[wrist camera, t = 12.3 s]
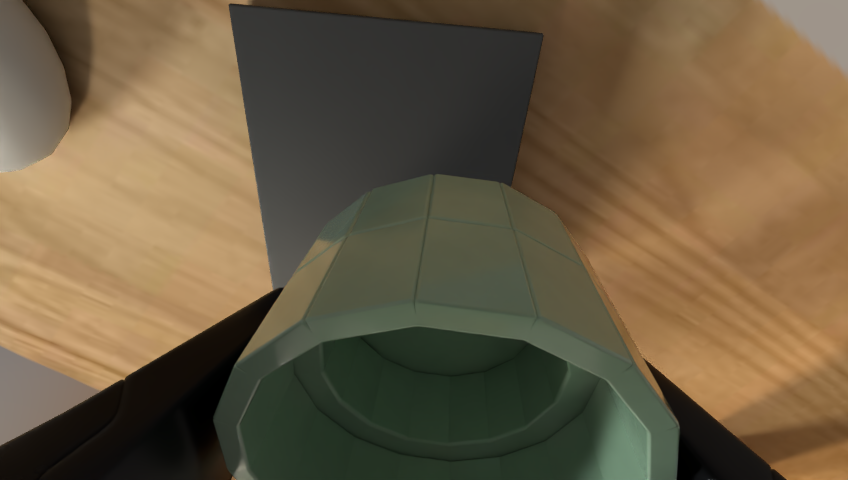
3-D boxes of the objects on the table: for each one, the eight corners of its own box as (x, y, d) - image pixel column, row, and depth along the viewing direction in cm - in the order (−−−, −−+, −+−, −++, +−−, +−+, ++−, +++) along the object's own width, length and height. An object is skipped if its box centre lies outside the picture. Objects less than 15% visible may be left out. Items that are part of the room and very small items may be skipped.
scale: (497, 303, 22) (503, 340, 20) (282, 278, 22) (260, 312, 20) (561, 34, 15) (582, 37, 12) (245, 4, 15) (202, 0, 13)
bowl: (540, 396, 11) (585, 592, 7) (318, 366, 11) (247, 544, 7) (627, 189, 8) (794, 350, 4) (308, 147, 8) (164, 266, 4)
